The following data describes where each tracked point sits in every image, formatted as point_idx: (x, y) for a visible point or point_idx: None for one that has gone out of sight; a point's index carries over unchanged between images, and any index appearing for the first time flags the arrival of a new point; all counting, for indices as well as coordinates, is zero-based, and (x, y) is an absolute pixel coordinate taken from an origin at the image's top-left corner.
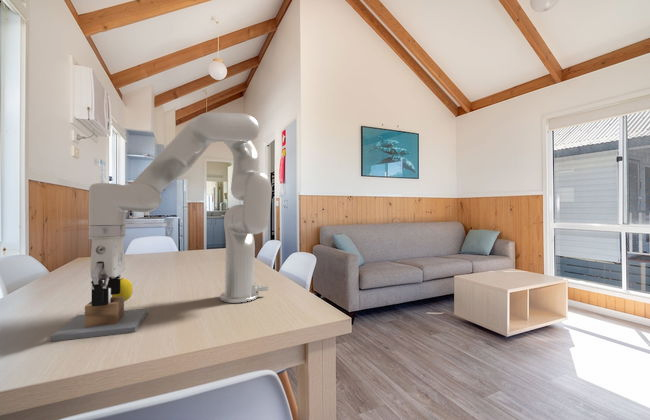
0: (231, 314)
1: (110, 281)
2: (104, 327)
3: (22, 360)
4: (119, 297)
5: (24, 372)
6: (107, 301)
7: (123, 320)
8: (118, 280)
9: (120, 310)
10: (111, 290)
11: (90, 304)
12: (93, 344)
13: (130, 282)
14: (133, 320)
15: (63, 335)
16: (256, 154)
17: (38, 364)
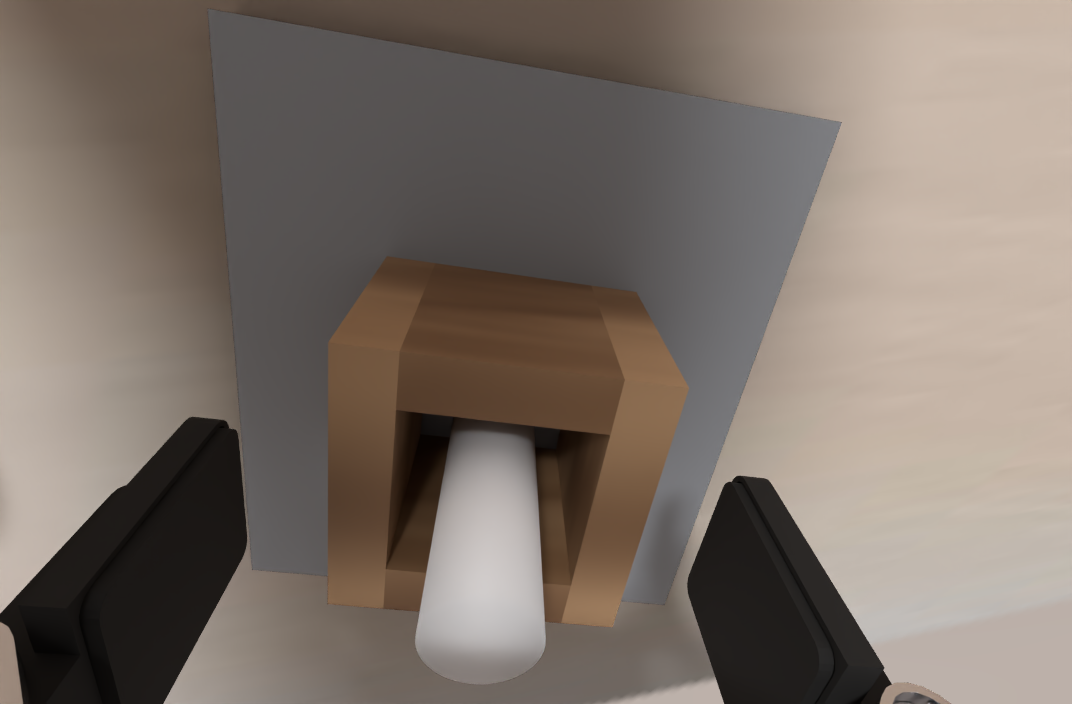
0: None
1: (133, 689)
2: (684, 366)
3: (853, 611)
4: (378, 391)
5: (1015, 572)
6: (777, 503)
7: (569, 244)
8: (108, 605)
9: (515, 307)
10: (215, 540)
11: (578, 601)
12: (872, 376)
13: None
14: (621, 151)
15: (679, 554)
16: None
17: (963, 550)
